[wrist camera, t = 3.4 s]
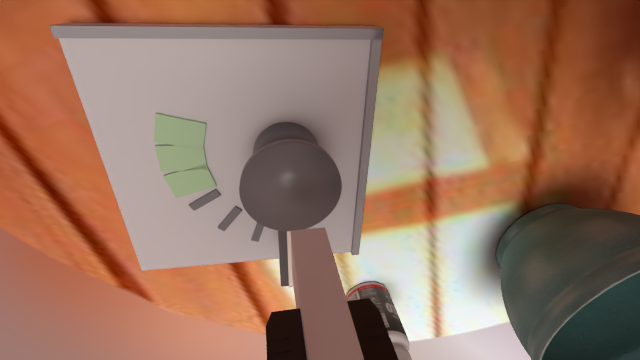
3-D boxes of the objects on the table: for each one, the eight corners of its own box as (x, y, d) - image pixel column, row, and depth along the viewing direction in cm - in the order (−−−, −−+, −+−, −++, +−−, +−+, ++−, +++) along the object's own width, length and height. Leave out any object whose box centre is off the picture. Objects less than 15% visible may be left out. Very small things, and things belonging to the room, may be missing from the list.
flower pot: (533, 150, 28) (668, 229, 18) (645, 195, 33) (795, 275, 23) (435, 279, 34) (498, 385, 25) (540, 300, 39) (625, 395, 30)
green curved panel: (147, 112, 20) (146, 113, 20) (289, 108, 21) (289, 110, 21) (182, 250, 26) (182, 252, 25) (292, 241, 27) (293, 243, 27)
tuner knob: (239, 114, 21) (233, 146, 16) (328, 112, 21) (344, 141, 17) (254, 246, 26) (252, 296, 22) (324, 240, 27) (335, 287, 23)
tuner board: (68, 22, 18) (49, 25, 17) (374, 25, 21) (383, 28, 19) (147, 257, 27) (140, 274, 26) (353, 240, 30) (358, 254, 28)
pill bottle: (391, 301, 35) (424, 380, 28) (351, 316, 35) (373, 398, 28) (382, 274, 33) (415, 352, 26) (338, 290, 33) (359, 372, 26)
